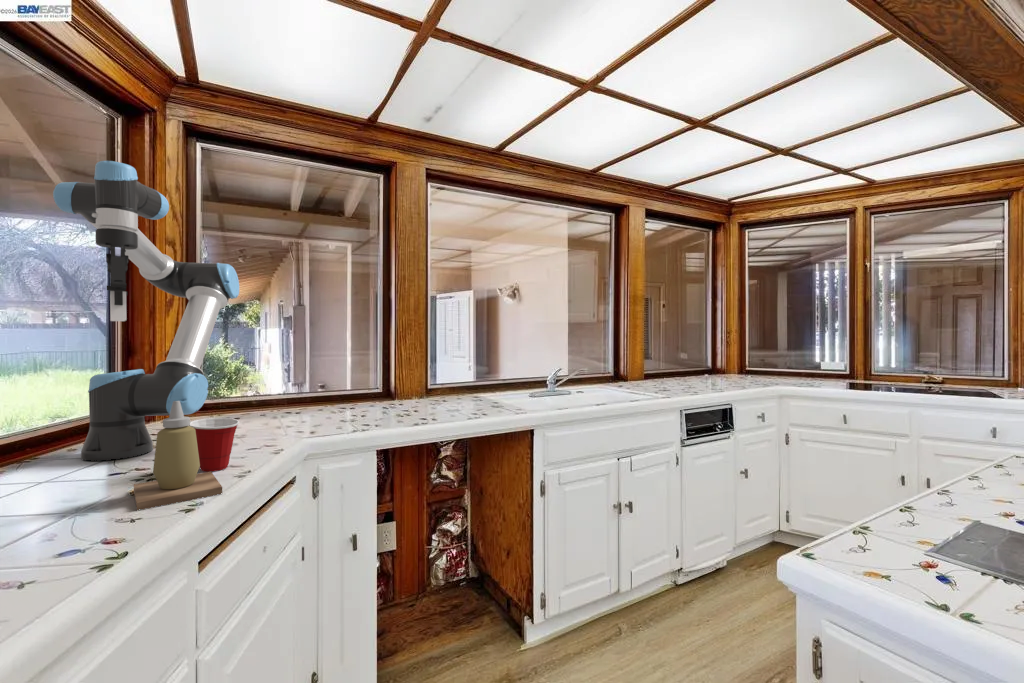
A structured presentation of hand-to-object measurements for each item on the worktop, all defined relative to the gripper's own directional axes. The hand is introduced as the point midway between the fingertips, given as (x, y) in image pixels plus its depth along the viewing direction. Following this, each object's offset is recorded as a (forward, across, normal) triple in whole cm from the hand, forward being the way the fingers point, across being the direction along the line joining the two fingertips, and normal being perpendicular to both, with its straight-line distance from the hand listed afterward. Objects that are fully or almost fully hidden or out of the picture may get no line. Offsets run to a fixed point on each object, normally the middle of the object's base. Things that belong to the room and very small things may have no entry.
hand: (118, 320), depth 108 cm
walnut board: (+37, +23, +9) cm, 44 cm away
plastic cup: (+37, +8, +18) cm, 42 cm away
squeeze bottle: (+35, +23, +9) cm, 43 cm away
